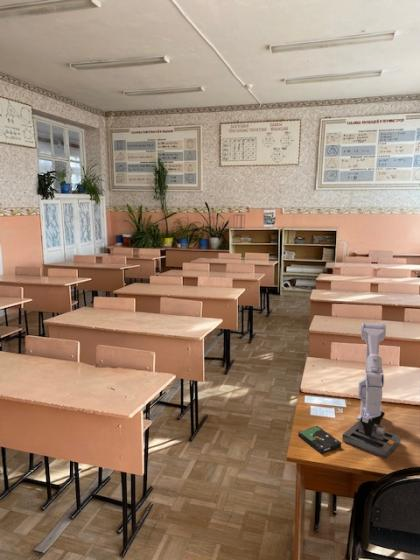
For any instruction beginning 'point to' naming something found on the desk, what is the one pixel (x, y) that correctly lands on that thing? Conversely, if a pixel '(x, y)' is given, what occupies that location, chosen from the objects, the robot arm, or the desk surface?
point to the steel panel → (374, 431)
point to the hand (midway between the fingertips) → (371, 432)
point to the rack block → (372, 441)
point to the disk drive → (319, 439)
